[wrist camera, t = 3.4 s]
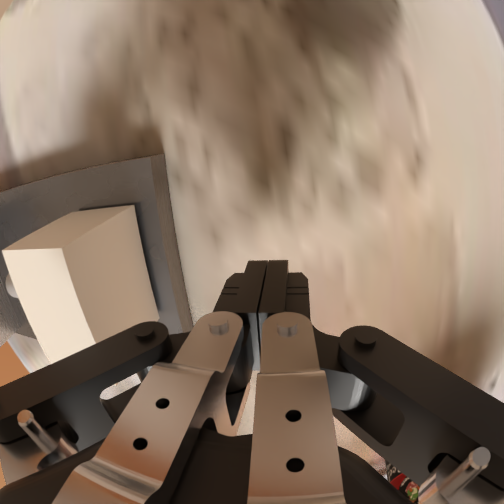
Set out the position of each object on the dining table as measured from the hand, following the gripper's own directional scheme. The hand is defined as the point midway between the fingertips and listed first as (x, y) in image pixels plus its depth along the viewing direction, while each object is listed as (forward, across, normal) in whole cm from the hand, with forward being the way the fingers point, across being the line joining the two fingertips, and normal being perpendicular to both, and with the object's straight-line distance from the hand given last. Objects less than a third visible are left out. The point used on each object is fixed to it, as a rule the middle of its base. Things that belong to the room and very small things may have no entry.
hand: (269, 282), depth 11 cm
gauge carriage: (+1, +10, +2) cm, 10 cm away
